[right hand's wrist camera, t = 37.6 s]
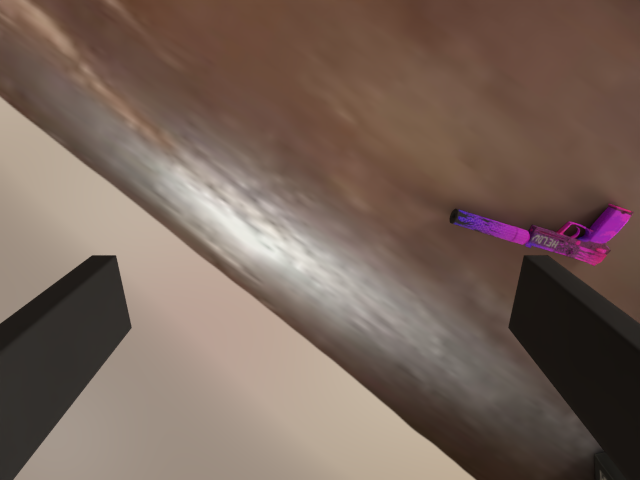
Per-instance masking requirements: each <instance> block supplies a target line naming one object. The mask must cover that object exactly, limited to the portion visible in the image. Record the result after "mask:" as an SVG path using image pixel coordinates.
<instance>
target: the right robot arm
mask: <svg viewBox="0 0 640 480" xmlns="http://www.w3.org/2000/svg"><path fill="white" fill-rule="evenodd" d="M508 328H509V329H510V331H511V332H512V333H513V334H514V336H515V337H516V338H517V339H518V341H519V342H520V343H521V345H522V346H523V347H524V348H525V350H526V351H527V352H528V354H529V355H530V356H531V357H532V359H533V360H534V361H535V363H536V364H537V365H538V366H539V368H540V369H541V370H542V372H543V373H544V374H545V375H546V377H547V378H548V379H549V381H550V382H551V383H552V384H553V386H554V387H555V388H556V389H557V391H558V392H559V393H560V395H561V396H562V397H563V398H564V400H565V401H566V402H567V404H568V405H569V406H570V407H571V409H572V410H573V411H574V413H575V414H576V415H577V416H578V418H579V419H580V420H581V422H582V423H583V424H584V425H585V427H586V428H587V429H588V431H589V432H590V433H591V434H592V436H593V437H594V438H595V439H596V441H597V442H598V443H599V445H600V446H601V447H602V448H603V450H604V451H605V452H606V454H607V455H608V456H609V457H610V459H611V460H612V461H613V463H614V464H615V465H616V466H617V468H618V469H619V470H620V472H621V473H622V474H623V475H624V477H625V478H626V479H627V480H640V324H639V323H638V322H637V321H635V320H634V319H633V318H631V317H630V316H629V315H627V314H626V313H625V312H623V311H622V310H621V309H619V308H618V307H616V306H615V305H614V304H612V303H611V302H610V301H608V300H607V299H606V298H604V297H603V296H602V295H600V294H599V293H598V292H596V291H595V290H594V289H592V288H591V287H590V286H588V285H587V284H586V283H584V282H583V281H581V280H580V279H579V278H577V277H576V276H575V275H573V274H572V273H571V272H569V271H568V270H567V269H565V268H564V267H563V266H561V265H560V264H559V263H557V262H556V261H555V260H553V259H552V258H551V257H549V256H548V255H524V258H523V262H522V267H521V272H520V276H519V281H518V286H517V290H516V295H515V299H514V304H513V309H512V313H511V318H510V323H509V327H508ZM130 329H131V323H130V318H129V313H128V309H127V304H126V299H125V295H124V290H123V286H122V281H121V276H120V272H119V267H118V262H117V258H116V256H115V255H112V256H111V255H107V256H106V255H104V256H101V255H93V256H91V257H89V258H88V259H87V260H86V261H84V262H83V263H81V264H80V265H79V266H77V267H76V268H75V269H73V270H72V271H71V272H69V273H68V274H67V275H65V276H64V277H63V278H61V279H60V280H59V281H57V282H56V283H55V284H53V285H52V286H50V287H49V288H48V289H46V290H45V291H44V292H42V293H41V294H40V295H38V296H37V297H36V298H34V299H33V300H32V301H30V302H29V303H28V304H26V305H25V306H24V307H22V308H21V309H19V310H18V311H17V312H15V313H14V314H13V315H12V316H10V317H9V318H7V319H6V320H5V321H3V322H2V323H1V324H0V480H13V479H14V478H15V477H16V475H17V474H18V473H19V472H20V470H21V469H22V468H23V466H24V465H25V464H26V463H27V461H28V460H29V459H30V457H31V456H32V455H33V454H34V452H35V451H36V450H37V448H38V447H39V446H40V445H41V443H42V442H43V441H44V439H45V438H46V437H47V436H48V434H49V433H50V432H51V430H52V429H53V428H54V427H55V425H56V424H57V423H58V422H59V420H60V419H61V418H62V416H63V415H64V414H65V413H66V411H67V410H68V409H69V407H70V406H71V405H72V404H73V402H74V401H75V400H76V398H77V397H78V396H79V395H80V393H81V392H82V391H83V389H84V388H85V387H86V386H87V384H88V383H89V382H90V380H91V379H92V378H93V377H94V375H95V374H96V373H97V372H98V370H99V369H100V368H101V366H102V365H103V364H104V363H105V361H106V360H107V359H108V357H109V356H110V355H111V354H112V352H113V351H114V350H115V348H116V347H117V346H118V345H119V343H120V342H121V341H122V339H123V338H124V337H125V336H126V334H127V333H128V332H129V330H130Z"/></svg>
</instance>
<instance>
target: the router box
mask: <svg viewBox="0 0 640 480" xmlns="http://www.w3.org/2000/svg"><path fill="white" fill-rule="evenodd" d="M594 459H595V476H596V480H627V479H626V478H625V477H624V475H623V474H622V473H621V472H620V470H619V469H618V468H617V466H616V465H615V464H614V463H613V461H612V460H611V459H610V457H609V456H608V455H607V454H606V452H603V453H600V454H595V458H594Z"/></svg>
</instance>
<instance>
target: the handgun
mask: <svg viewBox="0 0 640 480" xmlns="http://www.w3.org/2000/svg"><path fill="white" fill-rule="evenodd" d="M633 213H634V212H632V211H629V210H626V209H624V208H621V207H618V206H615V205H611V204H609V206H608V208H607V209H606V210H605V211H604V212H603V213H602V215H601V216H599V218H598V219H597V220H596V221H595V222H594V223H593V225H592V226H591V227H590V228H586V227H585V226H582V225H580V224H577V223H574V222H567V223H566V224H565V225H564V226H563V227H562V228H561V229H559V230H558V231H557V232H554V231H551V230H548V229H545V228H542V227H538V226H535V225H532V226H531V228H530V229H529V230H528V231H527V230H524V229H520V228H517V227H515V226H511V225H507V224H504V223H501V222H498V221H494V220H491V219H488V218H485V217H481V216H478V215H475V214H472V213H468V212H465V211H462V210H459V209H454V210H453V212H452V213H451V216H450V223H452V224H455V225H459V226H462V227H465V228H469V229H472V230H475V231H479V232H482V233H485V234H489V235H492V236H495V237H499V238H502V239H505V240H508V241H510V242H515V243H518V244H525V243H526V244H525V246H527V247H529V248H530V247H531V246H535V247H538V248H542V249H545V250H548V251H552V252H556V253H559V254H563V255H566V256H568V257H571V258H575V259H578V260H581V261H585V262H587V263H589V264H592V265H593V266H595V265H596V264H598V263H600V262H601V261H602V260H603V259H604V258H605V257H606V255H607V254H608V253H609V252H610V251H611V250H610V248H609V247H607V246H606V242H607V241H608V240H610V239H611V238H612V237H613V236H615V235H616V234H617V233H618V232H619V231H620V229H621V228H622V227H623V226H624V225H625V224H626V223H627V221H628V220H629V219H630V217H631V216H632V214H633ZM571 224H575V225H578V226H580V227H582V228H585V234H584V236H582V237H579V238H576V237H577V236H578V235H579V232H580V229H579V228H578V227H576V228H578V230H577V232H576V234H574V235H573V236H568V235H564V234H563V233H564V231H565V230H566V229H567V228H568V227H569V226H570V225H571Z"/></svg>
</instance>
